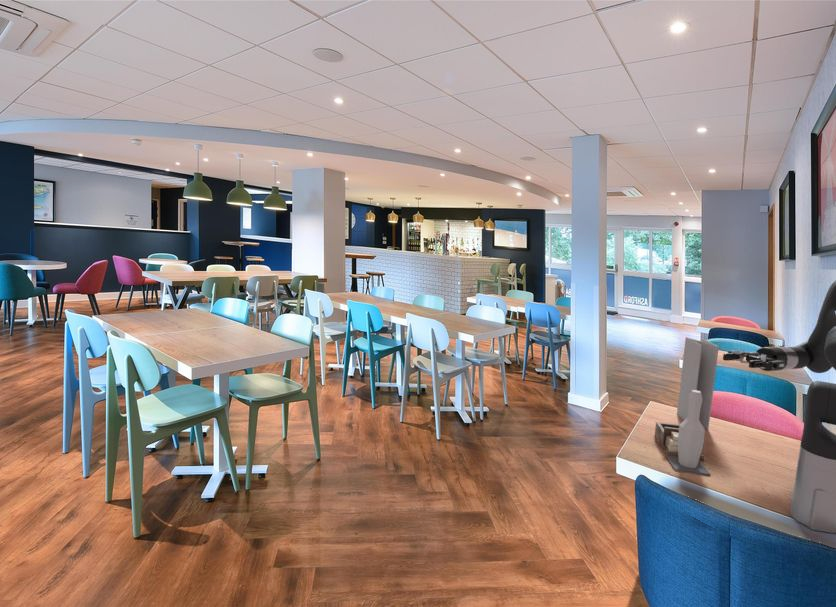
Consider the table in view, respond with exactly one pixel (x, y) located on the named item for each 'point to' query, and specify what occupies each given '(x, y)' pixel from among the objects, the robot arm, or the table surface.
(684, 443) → the low poly bottle
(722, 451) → the table surface
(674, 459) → the mat
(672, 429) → the offcut rack
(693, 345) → the brochure
